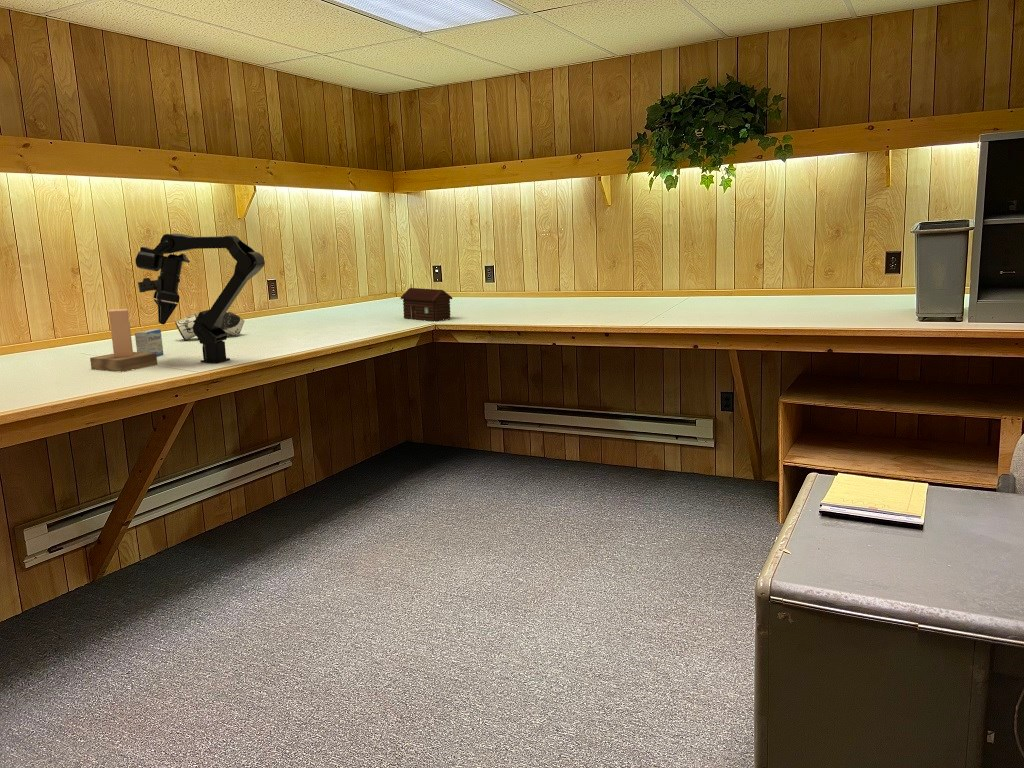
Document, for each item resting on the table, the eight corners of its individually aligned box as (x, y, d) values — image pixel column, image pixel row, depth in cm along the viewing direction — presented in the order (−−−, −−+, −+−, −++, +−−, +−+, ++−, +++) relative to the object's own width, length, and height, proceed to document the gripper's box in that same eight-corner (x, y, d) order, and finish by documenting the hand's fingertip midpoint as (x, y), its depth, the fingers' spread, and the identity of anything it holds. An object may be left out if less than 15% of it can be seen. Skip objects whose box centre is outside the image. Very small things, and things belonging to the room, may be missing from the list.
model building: (401, 318, 352) (400, 285, 348) (420, 316, 360) (418, 283, 357) (434, 322, 339) (433, 287, 336) (452, 319, 347) (451, 285, 344)
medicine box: (149, 358, 256) (146, 332, 255) (137, 358, 257) (134, 332, 255) (163, 354, 264) (161, 328, 262) (151, 354, 265) (149, 328, 263)
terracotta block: (133, 353, 245) (127, 308, 242) (132, 356, 240) (127, 310, 237) (115, 354, 243) (109, 309, 240) (114, 357, 239) (108, 311, 235)
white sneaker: (181, 343, 289) (178, 316, 287) (173, 340, 297) (170, 314, 295) (249, 336, 304) (247, 310, 302) (240, 333, 312) (238, 308, 310)
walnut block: (157, 366, 246) (156, 353, 245) (122, 373, 234) (120, 360, 233) (127, 363, 251) (126, 351, 250) (91, 370, 239) (90, 357, 238)
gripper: (140, 269, 249) (131, 317, 249) (143, 267, 232) (134, 319, 233) (178, 276, 254) (169, 324, 255) (183, 276, 238) (174, 326, 238)
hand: (161, 323), depth 245 cm, fingers open, 9 cm apart
